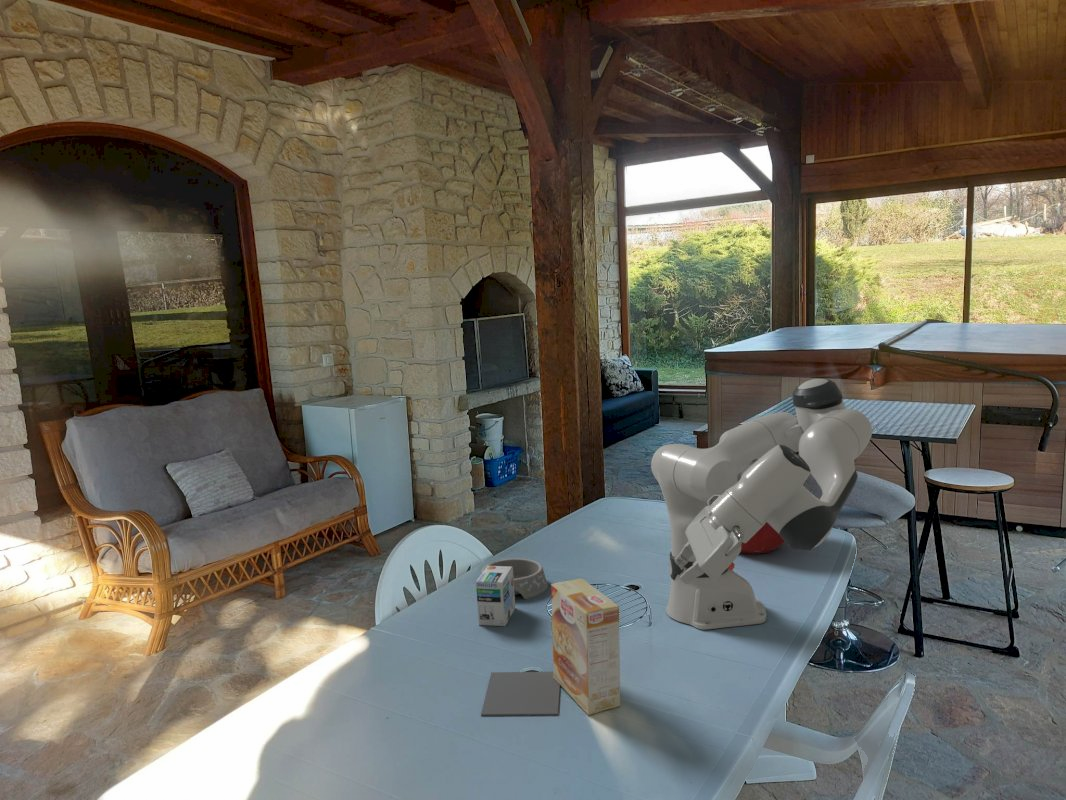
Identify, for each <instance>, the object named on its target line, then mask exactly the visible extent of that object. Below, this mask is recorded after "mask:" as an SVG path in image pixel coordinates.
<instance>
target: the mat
mask: <svg viewBox="0 0 1066 800" xmlns="http://www.w3.org/2000/svg"><path fill="white" fill-rule="evenodd" d="M553 676H554V671H507V672H506V671H504V672H501V671H499V672H495V671H494V672H491V673H490V676H489V680H488V685H487V689H486V692H485V697H484V700H483V704H482V709H481V712H480V713H481V714H480V717H494V716H495V717H497V716H498V717H499V716H501V717H503V716H506V717H511V716H512V717H513V716H558V715H559V704H560V691H561V688H560V687H561V685H560V684H559V683H558V682H557V681H556V680H555V679H554V678H553Z"/></svg>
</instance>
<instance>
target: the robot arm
mask: <svg viewBox="0 0 1066 800" xmlns="http://www.w3.org/2000/svg"><path fill="white" fill-rule="evenodd" d="M843 398H844V397H843V394H842V392H841V389H840V388H839V386H838V384H837V383H836V382H835V381H833V380H831V379H828V378H812V379H810V380H806V381H805V382H802V383H801V384H799V385H798V386H796V387H795V388H794V390H793V392H792V404H793V407H795V409H794V410H795V414H796V416H795V415H794V414H792V413H791V412H786V411H778V412H774V413H770V414H769V413H768V414H766V415H762V416H759V417H757V418H754V419H751V420H749V421H747V422H744V423H742V424H740V425H737V426H736V427H733V428H730V429H729V430H726V431H725V432H724V433H722V434H721V436H720V437H719V441H718V443H717V444H715V445H714V446H712V447H707V448H700V447H694V446H691V445H688V444H684V443H668V444H667V443H666V444H665V445H662V446H660V447H659V448H657V450H656V451H655V452H654V454H653V455H652V458H651V463H650V469H651V473H652V474H653V477H654V478H655V480H656V481H657V482H658V485H659V486H660V489H661V492H662V496H663V499H664V501H665V506H666V510H667V515H668V517H669V523H670V524H669V525H670V526H669V527H670V542H671V543H670V544H671V545H670V546H671V547H670V549H671V551H670V552H669V558H668V559H669V561H668V562H669V563H668V564H669V565H668V566H669V575H670V576H669V577H670V578H671V579H670V580H671V581H670V588H669V589H670V590H669V596H668V601H667V605H666V608H665V612H666V614H667V615H668V616H669V617H670V618H671V619H672V620H675V621H677V622H680V623H683V624H687V625H690V626H693V627H694V628H696V629H698V630H703V631H704V630H712V629H724V628H732V627H741V626H751V625H758V624H759V625H761V624H764V623H765V622H766V620H767V618H768V617H767V611H766V610H767V609H766V608H765V606H764V604H763V603H762V601H760V600H759V599H758V598H757V597H756V595H755V592H754V589H753V586H751V583H750V582H748V581H747V579H745V578H744V577H742V576H741V575H740V574H738V573H737V572H736V571H734V569H735V567H736V566H735V563H734V561H735V560H736V559H737V557H738V556H739V555H740V554H741V544H742V543H741V542H743V543H746V542H747V541H748V540H749V539H750V538H751V537H753V536H754V535H755V534H756V533H757V532H758V531H759V530H760V529H761V528H762V527H763V525H765V523H766V522H767V523H768V524H769V525H770V526H771V527H772V528H773V529H774V530H775V531H776V532H778V533H779V535H780V536H781V537H782V539H783V540H784V541H785V542H784V543H786V544H787V545H788V546H789V548H790V549H792V550H799V551H812V550H814V549H815V548H817V547H819V546H820V545H821V544H822V543H823V542H825V540H826V539H827V538H828V536H830V534H831V532H832V530H833V527H834V524H835V523H836V520H837V518H838V516H839V514H840V512H841V510H842V508H844V505H845V503H846V502H847V500H848V499H849V497H850V496H851V493H852V490H853V489H854V487H855V485H856V483H857V481H858V473H857V469H856V466H855V463H856V461H857V458H859V456H860V455H861V454H862V453H863V452H864V450H865V449H866V448H867V446H868V444H869V443H870V441H871V439H872V435H873V427H872V424H871V422H870V420H869V418H868V417H867V416H866V415H865V414H864V413H862V412H860V411H859V410H857V409H853V408H846V404H845V401H844V400H843ZM810 475H811V476H812V478H813V479H814V480H815V481H816V483H817V484H818V487H819V488H820V489H821V493H822V494H821V497H820V498H818V497H816V496H815V495H814V494H813V493H812V492H810V491H809V490H808V489H807V488H806V487H805V486H804V483H805V482H806V480H807V479H808V478H809V476H810Z"/></svg>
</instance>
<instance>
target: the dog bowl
mask: <svg viewBox="0 0 1066 800" xmlns="http://www.w3.org/2000/svg"><path fill="white" fill-rule="evenodd" d="M487 566H509V567H513V578H514V595H516V596H517V595H521V596H522V597H523V599H524V600H528V599H532V598H535V597H537V596H539V595H541V594H543V593H544V592H545V591H546V590H547V589H548V586H549V583H548V581H547V578H546V575H545V571H544V568H543V566H542V564H540V562H538V561H536V560H532V559H528V558H517V557H516V558H504V559H499V560H496V561H493V562H490V563H488V564H486V565H484V567H482V569H480V570H481V571H480V575H481V574H482V572H483V571H484V570H485V568H486V567H487Z"/></svg>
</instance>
